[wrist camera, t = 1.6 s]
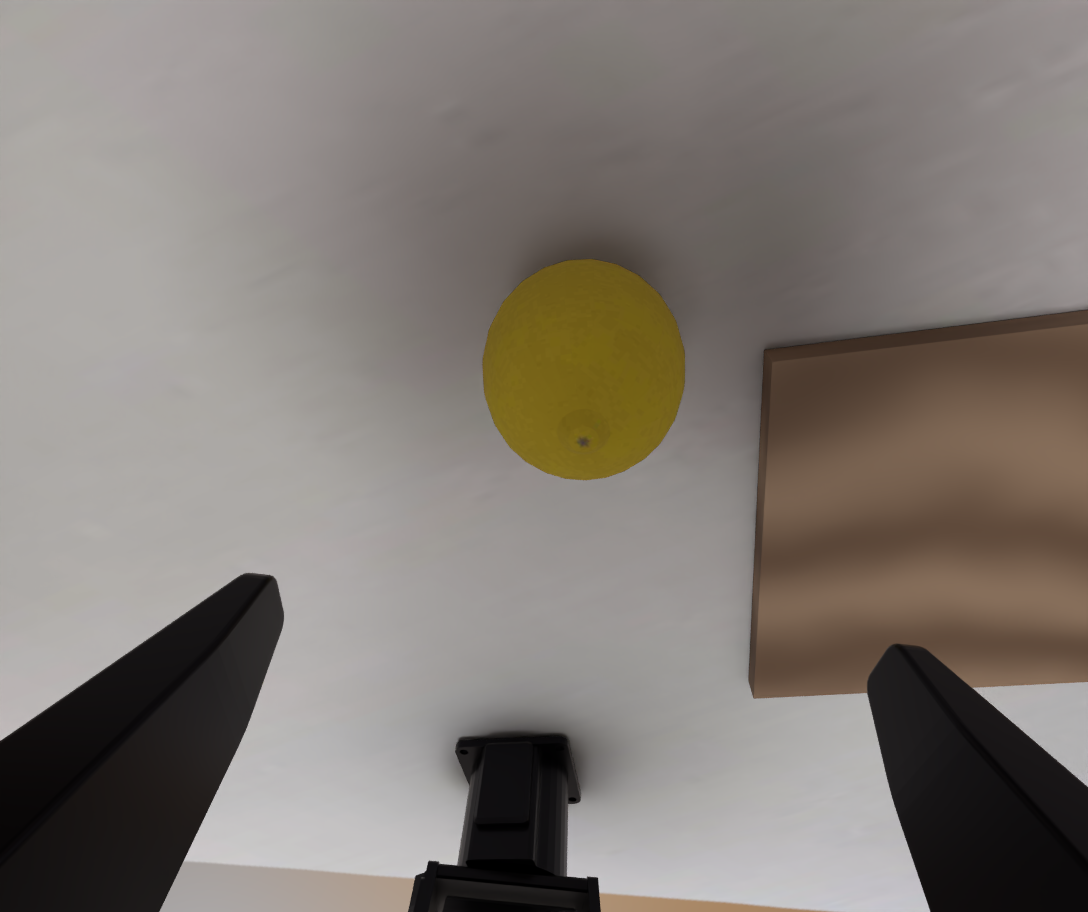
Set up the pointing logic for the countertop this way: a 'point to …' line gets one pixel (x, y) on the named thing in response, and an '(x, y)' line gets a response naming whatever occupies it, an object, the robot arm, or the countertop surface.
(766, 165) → the countertop surface
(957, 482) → the walnut board
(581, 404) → the lemon
